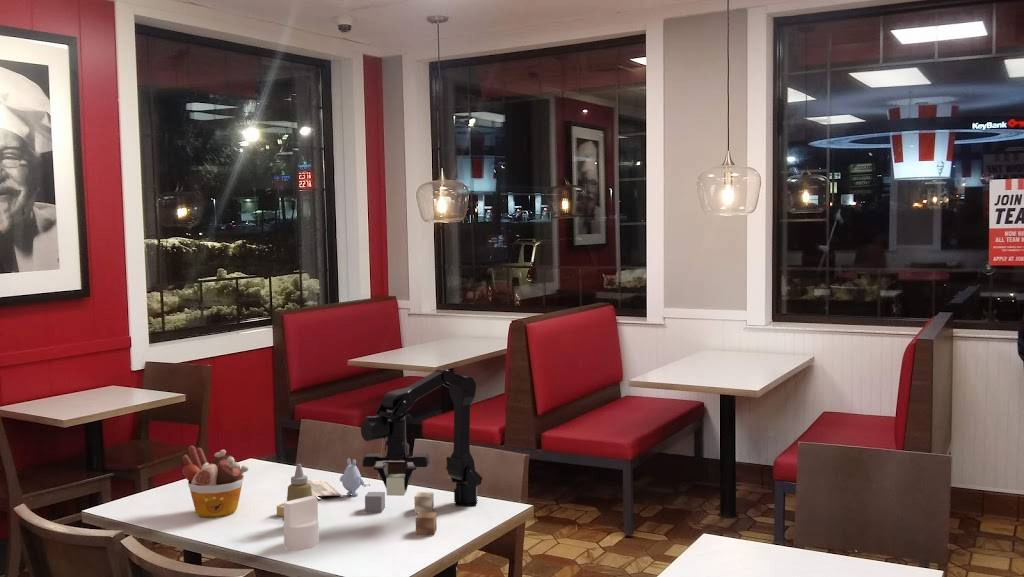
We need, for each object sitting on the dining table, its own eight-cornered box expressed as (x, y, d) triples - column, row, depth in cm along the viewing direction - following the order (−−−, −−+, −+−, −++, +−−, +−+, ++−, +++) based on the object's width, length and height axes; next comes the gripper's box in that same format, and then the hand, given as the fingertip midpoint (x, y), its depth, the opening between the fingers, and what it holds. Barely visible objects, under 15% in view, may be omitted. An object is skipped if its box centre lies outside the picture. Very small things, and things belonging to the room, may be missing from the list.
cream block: (433, 508, 272) (433, 492, 272) (431, 513, 267) (430, 496, 267) (417, 508, 272) (417, 492, 272) (414, 513, 267) (414, 496, 267)
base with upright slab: (307, 536, 246) (306, 493, 246) (325, 544, 240) (324, 499, 239) (277, 544, 240) (277, 500, 239) (295, 552, 233) (294, 506, 233)
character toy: (293, 509, 261) (271, 507, 264) (293, 520, 261) (271, 517, 264) (309, 502, 268) (287, 500, 271) (309, 513, 268) (287, 510, 271)
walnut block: (436, 530, 251) (436, 512, 251) (433, 535, 246) (433, 517, 246) (418, 529, 251) (418, 512, 251) (415, 535, 246) (415, 517, 246)
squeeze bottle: (320, 523, 257) (318, 462, 256) (305, 532, 250) (303, 468, 249) (296, 521, 260) (294, 460, 259) (280, 529, 252) (278, 466, 251)
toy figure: (371, 495, 287) (370, 458, 286) (357, 500, 282) (356, 462, 281) (347, 490, 293) (346, 454, 292) (333, 495, 288) (332, 458, 287)
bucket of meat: (259, 508, 273) (258, 444, 272) (222, 524, 258) (220, 455, 257) (209, 502, 281) (207, 439, 281) (169, 516, 266) (167, 450, 265)
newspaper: (290, 488, 300) (290, 480, 300) (326, 487, 305) (327, 480, 305) (304, 504, 279) (305, 496, 279) (342, 503, 284) (343, 495, 284)
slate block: (385, 508, 273) (384, 491, 273) (381, 512, 268) (381, 496, 268) (368, 508, 273) (368, 491, 273) (365, 512, 268) (364, 496, 268)
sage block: (406, 490, 261) (406, 474, 261) (403, 495, 256) (403, 478, 256) (390, 490, 261) (389, 473, 261) (386, 495, 256) (386, 478, 256)
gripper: (432, 430, 266) (433, 482, 266) (370, 430, 267) (371, 482, 267) (426, 438, 254) (427, 492, 255) (361, 438, 256) (362, 492, 256)
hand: (396, 489), depth 259 cm, fingers closed on sage block, 5 cm apart
